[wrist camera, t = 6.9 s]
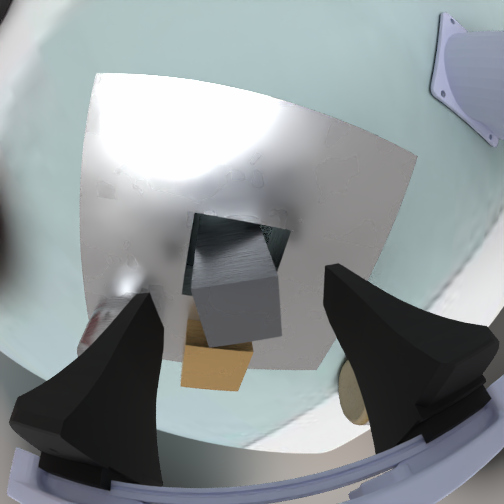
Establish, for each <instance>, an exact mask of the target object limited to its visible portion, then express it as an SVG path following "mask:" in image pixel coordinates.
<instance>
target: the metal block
mask: <svg viewBox="0 0 504 504" xmlns="http://www.w3.org/2000/svg"><path fill="white" fill-rule="evenodd" d="M191 292H192V295H193V298H194V302H195V305H196V308H197V311H198V315H199V318H200V321H201V324H202V327H203V330H204V333H205V336H206V340H207V343H208V345H209V348H210V347H218V346H225V345H232V344H239V343H245V342H252V341H258V340H263V339H269V338H275V337H280V336H282V326H281V310H280V295H279V281H278V274H277V271H276V269H275V266H274V263H273V261H272V258H271V255H270V253H269V250H268V247H267V245H266V242H265V239H264V237H263V234H262V231H261V229H260V226H259V224H256V223H251V222H245V221H240V220H235V219H229V218H224V217H218V216H212V215H204V216H200V221H199V228H198V235H197V242H196V250H195V258H194V267H193V275H192V284H191Z"/></svg>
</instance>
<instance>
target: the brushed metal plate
mask: <svg viewBox="0 0 504 504" xmlns="http://www.w3.org/2000/svg"><path fill="white" fill-rule="evenodd" d="M417 157H418V156H416V155H414V154H412V153H411V152H409V151H407V150H405V149H403V148H401V147H399V146H397V145H395V144H393V143H391V142H389V141H387V140H385V139H383V138H381V137H379V136H377V135H374V134H372V133H370V132H368V131H365V130H363V129H361V128H359V127H356V126H354V125H351V124H349V123H347V122H344V121H342V120H339V119H336V118H334V117H331V116H329V115H326V114H323V113H320V112H317V111H315V110H312V109H309V108H306V107H303V106H300V105H297V104H293V103H290V102H287V101H284V100H280V99H277V98H273V97H269V96H266V95H262V94H258V93H254V92H250V91H246V90H241V89H237V88H232V87H228V86H223V85H217V84H212V83H206V82H200V81H194V80H187V79H180V78H172V77H163V76H152V75H138V74H110V73H97V74H96V77H95V81H94V85H93V90H92V95H91V100H90V105H89V110H88V116H87V122H86V129H85V137H84V145H83V155H82V166H81V182H80V244H81V260H82V272H83V282H84V290H85V298H86V305H87V312H88V318H89V322H88V324H87V326H86V329H85V331H84V333H83V335H82V338H81V340H80V342H79V345H78V348H77V354H78V357H79V356H80V355H81V354H82V353H83V352H84V351H85V350H86V349H87V348H88V347H89V346H90V345H91V344H92V343H93V342H94V341H95V340H96V339H97V338H98V337H99V336H100V335H101V334H102V333H103V331H104V330H105V329H106V328H107V327H108V326H109V325H110V324H111V323H112V321H113V320H114V319H115V318H116V317H117V315H118V314H119V313H120V312H121V311H122V310H123V308H124V307H125V306H126V305H127V304H128V303H129V302H130V300H131V299H132V298H133V297H134V296H135V295H136V294H141V293H149V292H150V294H151V297H152V300H153V302H154V305H155V307H156V310H157V312H158V315H159V317H160V319H161V322H162V324H163V326H164V350H163V356H162V359H164V360H170V361H177V362H182V370H181V386H182V387H190V388H200V389H210V390H224V391H238V390H239V387H240V385H241V382H242V380H243V377H244V375H245V373H246V370H247V368H249V369H272V370H317V368H318V367H319V365H320V363H321V362H322V360H323V359H324V357H325V356H326V354H327V352H328V351H329V349H330V347H331V346H332V344H333V343H334V341H335V339H336V335H335V333H334V331H333V329H332V327H331V325H330V323H329V320H328V317H327V315H326V312H325V309H324V306H323V293H324V274H325V266H326V265H331V264H337V263H339V264H341V265H343V266H344V267H346V268H348V269H349V270H351V271H352V272H354V273H355V274H357V275H359V276H360V277H362V278H363V279H365V280H366V281H368V279H369V276H370V274H371V272H372V270H373V268H374V266H375V264H376V262H377V260H378V258H379V255H380V253H381V251H382V249H383V247H384V244H385V242H386V240H387V238H388V235H389V233H390V230H391V228H392V226H393V223H394V221H395V218H396V216H397V213H398V211H399V208H400V206H401V203H402V200H403V198H404V195H405V192H406V190H407V187H408V184H409V181H410V178H411V175H412V172H413V169H414V166H415V163H416V160H417ZM195 213H201V214H207V215H212V216H218V217H224V218H229V219H235V220H240V221H245V222H251V223H256V224H261V225H266V226H271V227H273V228H272V231H271V235H270V238H269V241H268V244H267V247H268V250H269V253H270V255H271V258H272V261H273V263H274V266H275V269H276V271H277V274H278V281H279V295H280V310H281V326H282V336H280V337H275V338H269V339H263V340H258V341H252V342H245V343H239V344H232V345H225V346H218V347H210V348H209V345H208V343H207V340H206V336H205V333H204V330H203V327H202V324H201V321H200V318H199V315H198V311H197V308H196V305H195V302H194V298H193V295H192V292H191V284H192V275H193V267H194V266H189V265H186V263H187V256H188V250H189V243H190V237H191V231H192V226H193V220H194V214H195Z"/></svg>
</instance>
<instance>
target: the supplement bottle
mask: <svg viewBox="0 0 504 504" xmlns="http://www.w3.org/2000/svg"><path fill="white" fill-rule="evenodd" d="M10 1H11V0H0V21H1V20H2V18H3V16H4V14H5V13H6V11H7V9H8V6H9V4H10Z"/></svg>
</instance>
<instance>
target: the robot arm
mask: <svg viewBox="0 0 504 504" xmlns="http://www.w3.org/2000/svg"><path fill="white" fill-rule="evenodd" d="M431 93H432V95H433V96H434V97H436V98H437V99H438V100H440V101H441V102H442V103H444V104H445V105H446V106H447V107H449V108H450V109H451V110H452V111H454V112H455V113H456V114H457V115H458V116H460V117H461V118H462V119H463V120H464V121H465V122H467V123H468V124H469V125H470V126H471V127H472V128H473V129H474V130H475V131H477V132H478V133H479V134H480V135H481V136H482V137H483V138H484V139H485V140H486V141H487V142H488V143H489V144H490V145H491V146H492V147H497V145H498V140H499V139H502V140H504V31H478V32H468V31H467V30H466V29H465V28H464V27H463V26H462V25H460V24H459V23H458V22H457V21H456V20H455V19H454V18H453V17H452V16H450V15H449V14H448V13H447V12H442V13H441V18H440V29H439V38H438V46H437V54H436V60H435V66H434V72H433V78H432V83H431ZM441 93H442V96H441ZM323 306H324V309H325V312H326V315H327V317H328V320H329V323H330V325H331V327H332V329H333V331H334V333H335V335H336V337H337V339H338V341H339V343H340V345H341V347H342V349H343V351H344V353H345V355H346V357H347V359H348V361H349V362H350V365H351V367H352V369H353V371H354V374H355V377H356V380H357V383H358V386H359V389H360V392H361V395H362V398H363V401H364V405H365V408H366V412H367V415H368V419H369V423H370V427H371V432H372V437H373V441H374V447H375V453H376V455H374V456H371V457H368V458H366V459H363V460H360V461H357V462H354V463H352V464H348V465H345V466H342V467H339V468H335V469H332V470H328V471H325V472H321V473H317V474H313V475H308V476H304V477H300V478H295V479H290V480H284V481H279V482H272V483H265V484H258V485H249V486H240V487H226V488H170V487H162V486H163V481H162V476H161V470H160V464H159V457H158V447H157V436H156V435H157V433H156V397H157V388H158V382H159V375H160V369H161V363H162V356H163V350H164V326H163V324H162V322H161V319H160V317H159V315H158V312H157V310H156V307H155V305H154V302H153V300H152V297H151V294H150V292H149V293H141V294H136V295H135V296H134V297H133V298H132V299H131V300H130V302H129V303H128V304H127V305H126V306H125V307H124V308H123V310H122V311H121V312H120V313H119V314H118V315H117V317H116V318H115V319H114V320H113V321H112V323H111V324H110V325H109V326H108V327H107V328H106V329H105V330H104V331H103V333H102V334H101V335H100V336H99V337H98V338H97V339H96V340H95V341H94V342H93V343H92V344H91V345H90V346H89V347H88V348H87V349H86V350H85V351H84V352H83V353H82V354H81V355H80V356H79V357H78V358H77V359H75V360H74V361H73V362H72V363H70V364H69V365H68V366H67V367H65V368H64V369H63V370H62V371H60V372H59V373H58V374H56V375H55V376H54V377H52V378H51V379H49V380H48V381H46V382H45V383H43V384H42V385H40V386H38V387H36V388H35V389H33V390H31V391H29V392H27V393H25V394H23V395H22V396H19V397H18V398H17V401H16V403H15V406H14V409H13V412H12V415H11V418H10V421H9V423H10V426H11V427H12V429H13V430H14V431H15V432H16V433H17V434H19V435H20V436H21V437H22V438H23V439H25V440H26V441H27V442H29V443H30V444H31V445H33V446H34V447H36V448H37V449H38V450H40V451H41V456H40V457H39V456H37V455H35V454H33V453H31V452H28V451H25V450H23V449H21V448H18V447H17V448H16V449H15V454H14V458H13V462H12V467H11V472H10V477H9V483H8V489H7V494H8V496H10V497H11V498H13V499H14V500H16V501H18V502H19V503H21V504H269V503H275V502H282V501H287V500H293V499H297V498H302V497H307V496H311V495H315V494H320V493H323V492H327V491H331V490H334V489H338V488H341V487H344V486H347V485H350V484H353V483H356V482H359V481H362V480H365V479H367V478H370V477H373V476H375V475H378V474H380V473H383V472H385V471H387V470H390V469H392V468H393V469H392V470H390V471H388V472H386V473H384V474H382V475H380V476H378V477H376V478H373V479H371V480H369V481H367V482H364V483H362V484H361V485H360V487H359V488H358V489H356V490H354V491H352V492H350V493H349V498H350V500H349V501H345V502H342V503H338V504H436V503H437V502H439V501H440V500H441V499H443V498H444V497H446V496H447V495H449V494H450V493H451V492H453V491H454V490H456V489H457V488H458V487H459V486H461V485H462V484H463V483H465V482H466V481H467V480H468V479H469V478H470V477H472V476H473V475H474V474H476V473H477V472H478V471H479V470H480V469H481V468H482V467H484V466H485V465H486V464H487V463H488V462H489V461H490V460H491V459H492V458H493V457H494V456H495V455H496V454H497V453H498V452H499V451H500V450H501V449H502V448H503V447H504V375H503V376H502V377H500V378H499V379H498V380H497V381H495V382H494V383H493V384H492V385H490V386H489V387H488V388H487V389H485V387H484V386H483V384H484V383H485V382H486V379H485V378H484V376H483V375H482V374H483V372H484V371H485V370H486V368H487V367H488V365H489V364H490V362H491V361H492V360H493V358H494V356H495V355H496V353H497V351H498V348H499V341H498V339H497V338H496V337H495V336H494V334H493V333H492V332H491V331H490V330H489V328H488V327H487V326H482V325H476V324H470V323H464V322H460V321H456V320H452V319H448V318H445V317H441V316H438V315H435V314H433V313H430V312H427V311H424V310H422V309H419V308H417V307H415V306H412V305H410V304H408V303H406V302H403V301H401V300H399V299H397V298H396V297H394V296H392V295H390V294H388V293H386V292H385V291H383V290H381V289H380V288H378V287H376V286H374V285H373V284H371V283H370V282H368V281H366V280H365V279H363V278H362V277H360V276H359V275H357V274H355V273H354V272H352V271H351V270H349V269H348V268H346V267H344V266H343V265H341V264H339V263H337V264H331V265H326V266H325V274H324V293H323Z"/></svg>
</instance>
